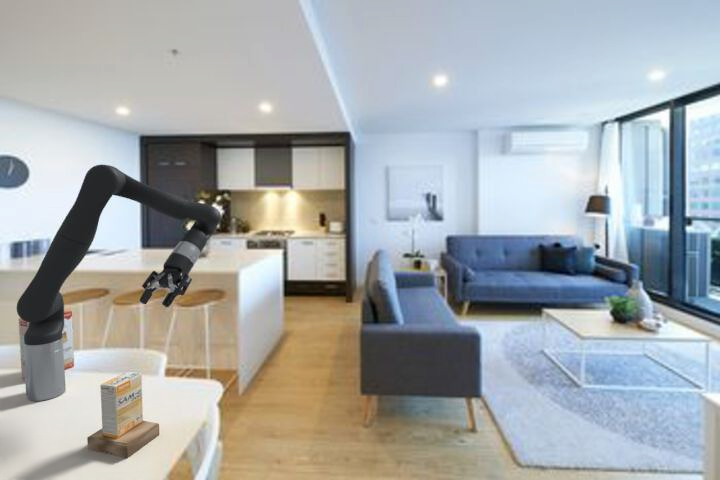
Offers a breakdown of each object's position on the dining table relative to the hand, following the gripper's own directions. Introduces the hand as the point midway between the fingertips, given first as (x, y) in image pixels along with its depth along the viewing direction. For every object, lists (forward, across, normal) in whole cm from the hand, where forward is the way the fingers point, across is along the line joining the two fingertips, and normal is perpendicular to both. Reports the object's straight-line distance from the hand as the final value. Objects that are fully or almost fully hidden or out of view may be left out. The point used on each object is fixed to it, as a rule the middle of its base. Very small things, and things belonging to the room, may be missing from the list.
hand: (153, 304), depth 117 cm
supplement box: (+31, +6, +8) cm, 32 cm away
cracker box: (+19, -53, +24) cm, 62 cm away
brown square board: (+33, +7, +10) cm, 35 cm away
